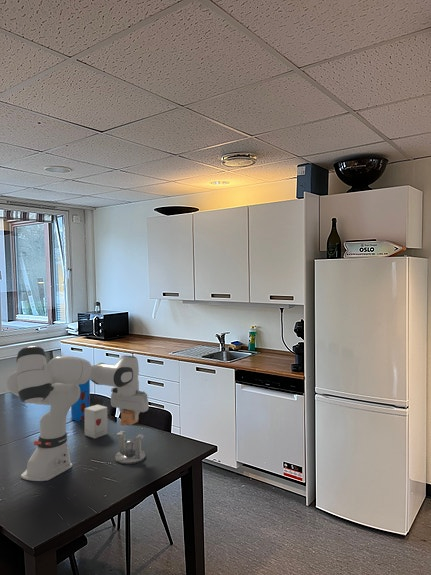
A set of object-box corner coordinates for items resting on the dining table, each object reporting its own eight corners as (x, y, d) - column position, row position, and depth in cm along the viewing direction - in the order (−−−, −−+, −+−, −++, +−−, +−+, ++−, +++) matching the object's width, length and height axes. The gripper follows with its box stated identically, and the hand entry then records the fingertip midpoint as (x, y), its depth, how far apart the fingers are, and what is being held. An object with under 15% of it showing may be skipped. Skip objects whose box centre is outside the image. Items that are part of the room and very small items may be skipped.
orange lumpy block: (141, 419, 205) (141, 408, 205) (126, 426, 196) (126, 414, 196) (132, 418, 208) (132, 406, 208) (117, 424, 198) (117, 413, 198)
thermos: (70, 416, 263) (70, 376, 262) (88, 414, 267) (88, 374, 267) (72, 422, 253) (72, 380, 252) (91, 419, 258) (90, 378, 257)
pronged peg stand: (137, 465, 194) (137, 441, 193) (109, 462, 197) (109, 438, 197) (149, 453, 207) (149, 430, 207) (123, 450, 211) (122, 428, 210)
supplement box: (94, 439, 226) (94, 411, 226) (84, 435, 232) (83, 408, 231) (108, 434, 233) (107, 406, 233) (97, 430, 239) (97, 404, 239)
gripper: (151, 390, 199) (151, 419, 200) (117, 385, 209) (117, 413, 209) (142, 393, 194) (143, 423, 194) (108, 388, 203) (108, 417, 204)
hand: (129, 418), depth 202 cm, fingers closed on orange lumpy block, 6 cm apart
